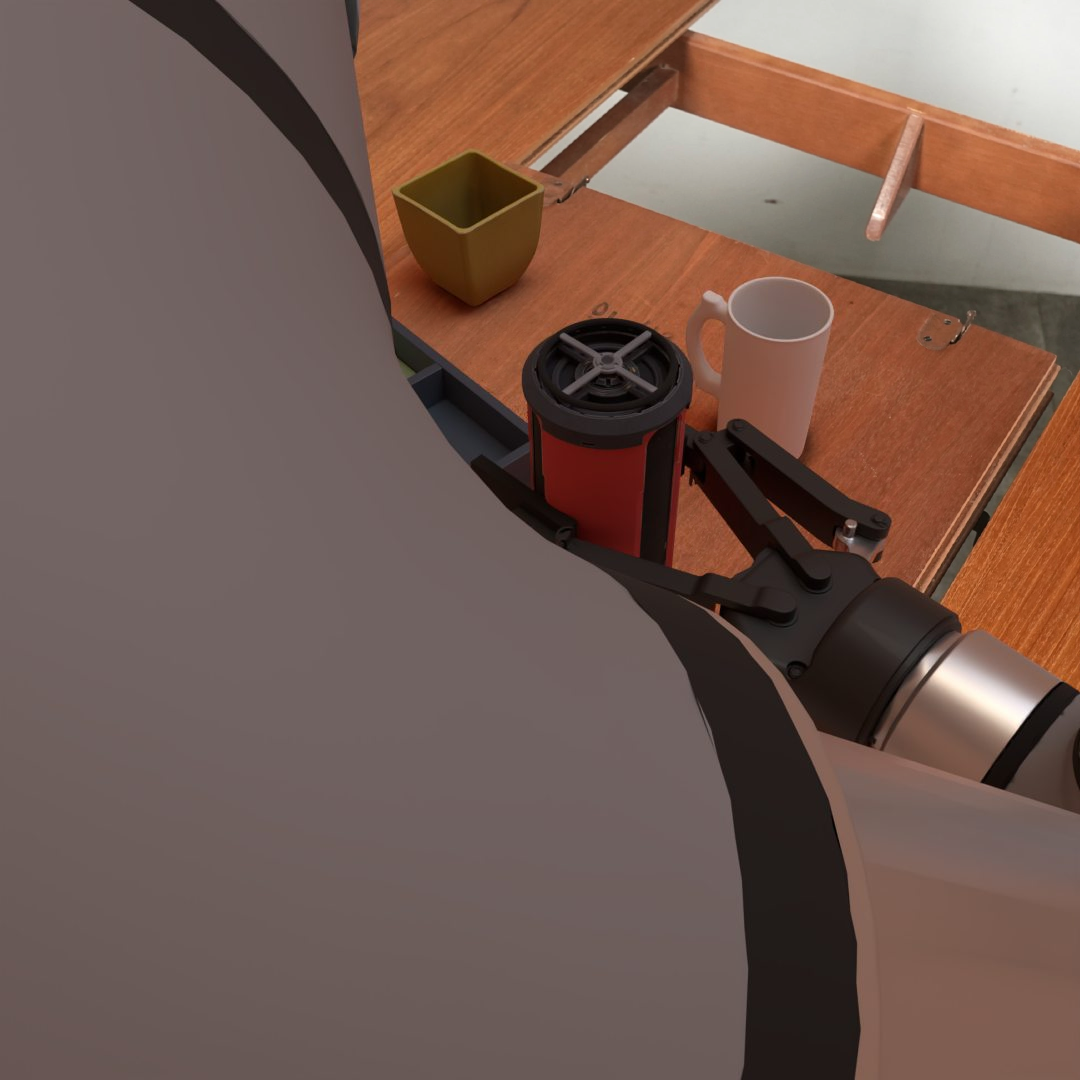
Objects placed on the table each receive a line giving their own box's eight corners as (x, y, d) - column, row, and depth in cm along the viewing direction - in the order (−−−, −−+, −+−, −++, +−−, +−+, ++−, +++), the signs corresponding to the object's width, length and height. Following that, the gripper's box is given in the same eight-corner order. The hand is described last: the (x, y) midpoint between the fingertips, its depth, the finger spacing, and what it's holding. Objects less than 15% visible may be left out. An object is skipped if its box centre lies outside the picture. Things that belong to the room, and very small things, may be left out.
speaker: (606, 692, 63) (614, 445, 50) (503, 612, 67) (484, 362, 53) (699, 607, 67) (730, 356, 53) (597, 536, 70) (601, 284, 57)
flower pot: (400, 283, 100) (388, 188, 93) (479, 239, 104) (472, 144, 97) (471, 330, 95) (462, 234, 89) (550, 282, 99) (548, 186, 93)
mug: (824, 435, 87) (852, 300, 78) (778, 490, 83) (802, 355, 74) (705, 381, 91) (718, 247, 82) (656, 431, 87) (664, 297, 78)
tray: (417, 562, 80) (411, 523, 77) (240, 394, 91) (230, 355, 88) (549, 478, 84) (548, 439, 82) (366, 329, 96) (359, 290, 93)
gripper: (760, 897, 49) (393, 593, 60) (1018, 614, 58) (659, 396, 69) (784, 805, 43) (373, 489, 54) (1065, 508, 52) (666, 289, 63)
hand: (534, 437), depth 62 cm, fingers closed on speaker, 7 cm apart
